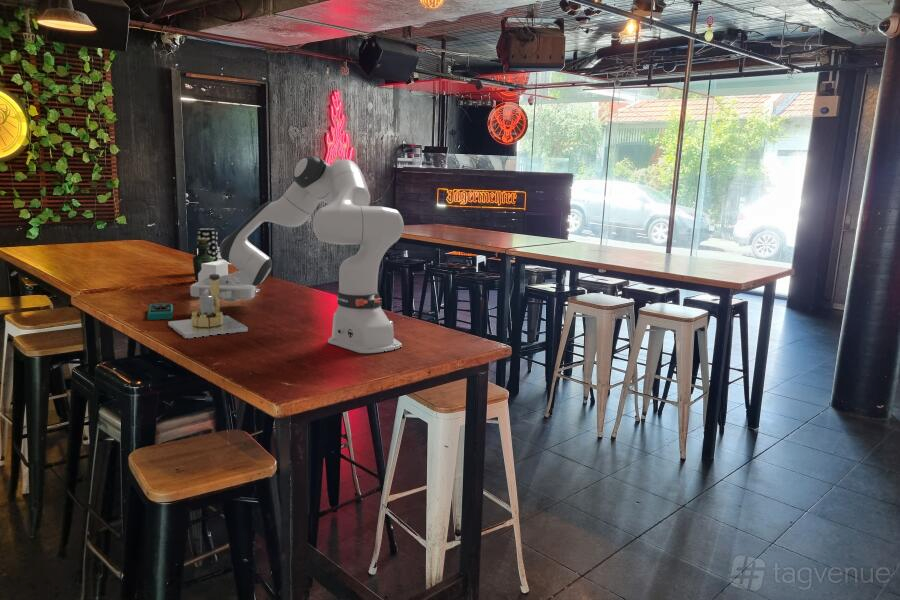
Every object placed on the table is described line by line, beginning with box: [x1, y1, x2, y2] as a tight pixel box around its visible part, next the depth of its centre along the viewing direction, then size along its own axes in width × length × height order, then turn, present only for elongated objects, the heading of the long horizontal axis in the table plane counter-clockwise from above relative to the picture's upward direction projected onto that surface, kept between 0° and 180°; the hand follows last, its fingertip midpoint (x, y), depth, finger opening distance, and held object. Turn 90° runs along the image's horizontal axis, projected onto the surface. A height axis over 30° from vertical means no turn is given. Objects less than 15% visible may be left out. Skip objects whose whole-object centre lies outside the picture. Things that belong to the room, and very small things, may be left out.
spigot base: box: [167, 295, 249, 340], centre depth 195 cm, size 20×18×10 cm
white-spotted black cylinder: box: [196, 227, 219, 262], centre depth 287 cm, size 8×8×20 cm
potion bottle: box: [192, 238, 213, 281], centre depth 268 cm, size 8×8×18 cm
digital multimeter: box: [146, 302, 174, 321], centre depth 210 cm, size 7×15×3 cm, turn 23°
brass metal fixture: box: [191, 274, 224, 327], centre depth 196 cm, size 14×8×14 cm, turn 4°
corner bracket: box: [198, 260, 229, 282], centre depth 246 cm, size 11×11×12 cm
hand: (213, 295), depth 201 cm, fingers open, 3 cm apart
